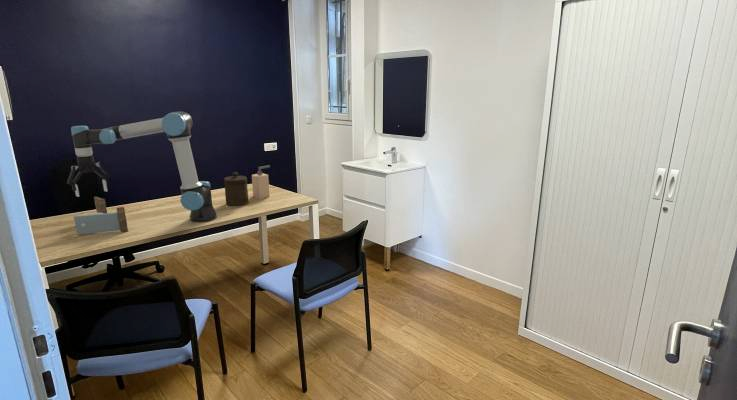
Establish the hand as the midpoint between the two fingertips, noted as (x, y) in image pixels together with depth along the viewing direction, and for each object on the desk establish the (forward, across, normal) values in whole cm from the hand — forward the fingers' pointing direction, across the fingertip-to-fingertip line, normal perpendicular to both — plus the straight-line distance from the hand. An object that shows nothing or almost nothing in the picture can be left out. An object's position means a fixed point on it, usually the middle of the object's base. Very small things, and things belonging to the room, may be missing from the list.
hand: (92, 193), depth 221 cm
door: (+20, +2, +8) cm, 22 cm away
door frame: (+21, -7, -1) cm, 22 cm away
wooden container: (+21, -79, +17) cm, 84 cm away
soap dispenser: (+22, -103, +15) cm, 106 cm away
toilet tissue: (+21, +2, -2) cm, 21 cm away
